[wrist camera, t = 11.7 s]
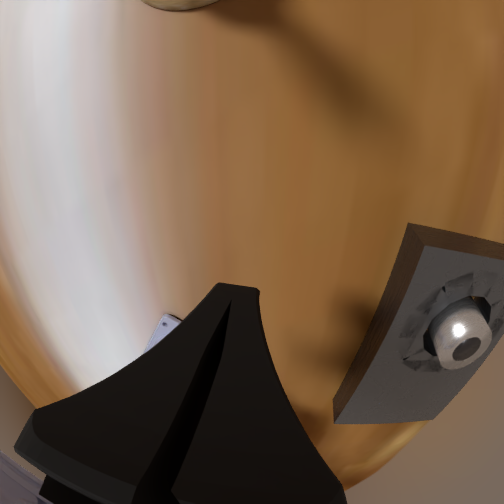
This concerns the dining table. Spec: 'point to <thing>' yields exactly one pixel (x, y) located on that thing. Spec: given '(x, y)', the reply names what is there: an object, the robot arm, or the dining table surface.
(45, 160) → the dining table surface
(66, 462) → the robot arm
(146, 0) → the hand bell
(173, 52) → the dining table surface
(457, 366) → the bushing
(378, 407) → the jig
